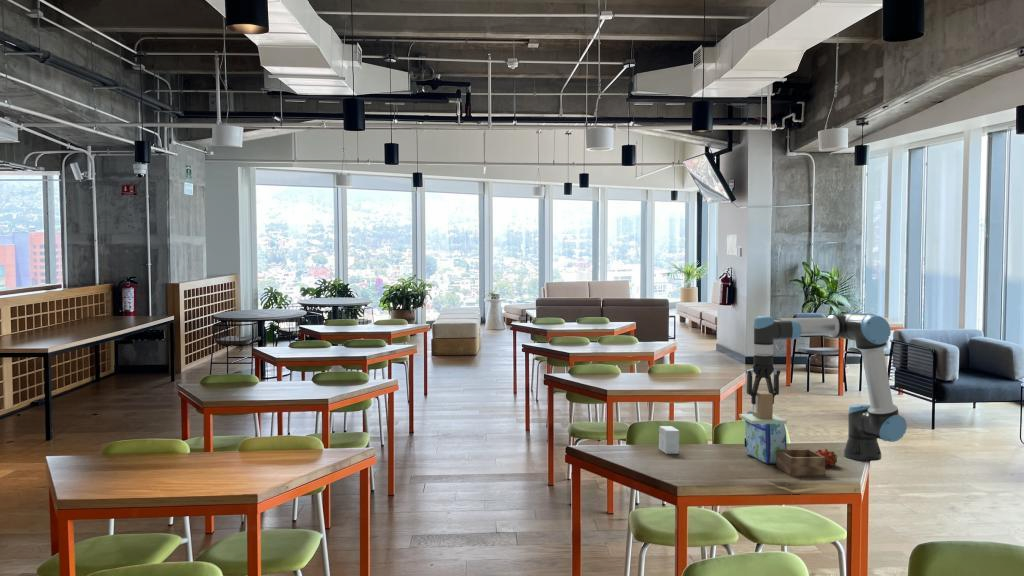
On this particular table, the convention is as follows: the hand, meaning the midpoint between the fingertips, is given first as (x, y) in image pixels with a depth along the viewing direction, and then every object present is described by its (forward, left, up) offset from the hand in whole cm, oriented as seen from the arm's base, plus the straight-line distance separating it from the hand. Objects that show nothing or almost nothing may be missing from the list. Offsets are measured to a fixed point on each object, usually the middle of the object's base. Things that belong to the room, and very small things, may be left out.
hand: (762, 412), depth 319 cm
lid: (0, 0, -3) cm, 3 cm away
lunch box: (-10, -22, -25) cm, 35 cm away
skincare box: (+27, -40, -25) cm, 54 cm away
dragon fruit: (-29, -7, -25) cm, 39 cm away
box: (-16, 0, -25) cm, 30 cm away
